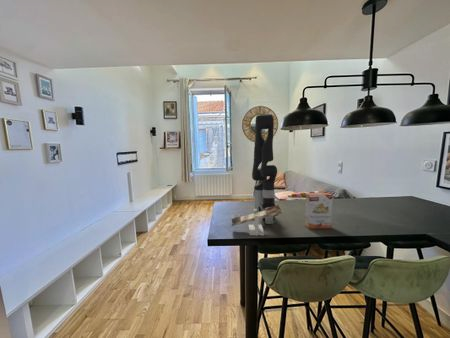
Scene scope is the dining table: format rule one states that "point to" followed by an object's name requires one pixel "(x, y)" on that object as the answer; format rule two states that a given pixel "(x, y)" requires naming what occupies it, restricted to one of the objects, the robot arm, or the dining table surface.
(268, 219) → the block
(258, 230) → the pivot stand
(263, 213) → the beam
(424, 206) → the dining table surface
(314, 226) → the cracker box
